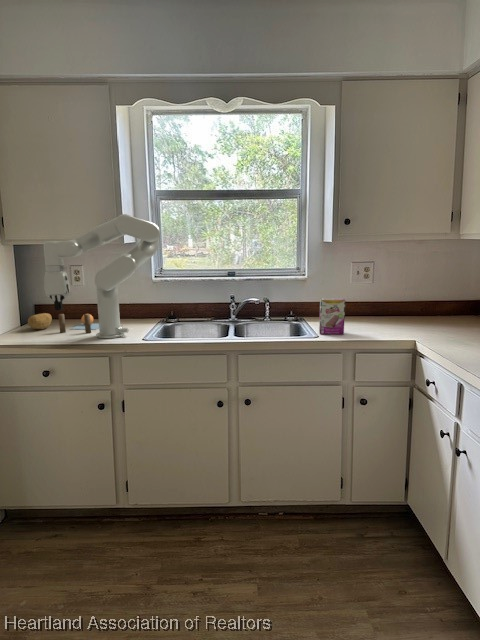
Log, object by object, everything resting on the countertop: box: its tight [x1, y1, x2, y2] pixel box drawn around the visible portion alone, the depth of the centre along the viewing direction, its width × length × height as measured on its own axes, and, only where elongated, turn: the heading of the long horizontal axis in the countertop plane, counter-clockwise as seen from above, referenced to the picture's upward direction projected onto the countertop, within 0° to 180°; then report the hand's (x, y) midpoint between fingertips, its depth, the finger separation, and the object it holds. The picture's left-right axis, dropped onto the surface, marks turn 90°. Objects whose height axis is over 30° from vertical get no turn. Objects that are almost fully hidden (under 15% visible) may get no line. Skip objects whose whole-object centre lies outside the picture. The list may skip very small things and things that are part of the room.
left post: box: [58, 313, 67, 334], centre depth 212 cm, size 3×3×9 cm
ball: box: [80, 314, 94, 325], centre depth 229 cm, size 6×6×6 cm
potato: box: [27, 312, 53, 330], centre depth 221 cm, size 10×14×8 cm
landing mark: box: [69, 322, 99, 331], centre depth 226 cm, size 14×14×1 cm
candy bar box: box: [318, 297, 346, 336], centre depth 202 cm, size 11×5×16 cm, turn 85°
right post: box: [83, 313, 92, 334], centre depth 210 cm, size 3×3×9 cm
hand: (58, 309), depth 197 cm, fingers closed
